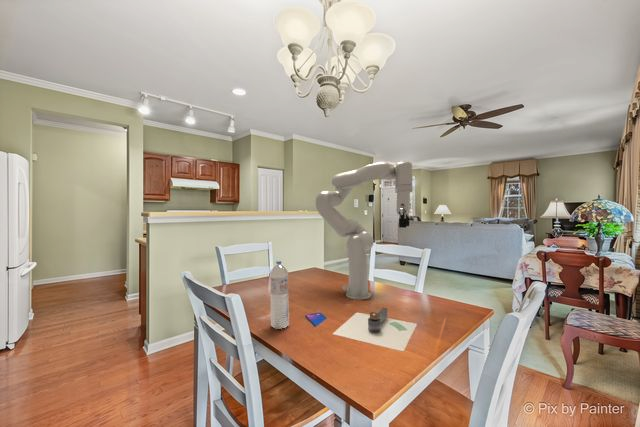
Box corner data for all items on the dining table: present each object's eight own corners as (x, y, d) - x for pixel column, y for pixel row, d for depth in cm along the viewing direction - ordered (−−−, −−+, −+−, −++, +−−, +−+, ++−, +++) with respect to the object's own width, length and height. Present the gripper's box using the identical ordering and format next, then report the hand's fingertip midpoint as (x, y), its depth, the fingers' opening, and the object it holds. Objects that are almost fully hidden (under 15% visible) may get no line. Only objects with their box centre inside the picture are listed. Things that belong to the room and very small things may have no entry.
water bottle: (274, 331, 98) (272, 263, 98) (268, 324, 104) (267, 260, 104) (291, 327, 102) (290, 261, 101) (285, 321, 108) (284, 258, 107)
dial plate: (332, 338, 93) (332, 333, 93) (356, 315, 112) (356, 311, 112) (403, 356, 81) (403, 350, 81) (417, 327, 100) (417, 323, 100)
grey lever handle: (378, 333, 91) (378, 317, 91) (366, 330, 94) (366, 314, 94) (390, 317, 105) (390, 303, 105) (379, 315, 107) (379, 301, 107)
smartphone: (318, 330, 99) (304, 314, 112) (318, 332, 99) (304, 317, 112) (336, 326, 101) (320, 312, 115) (336, 328, 101) (320, 314, 115)
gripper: (398, 190, 133) (398, 225, 133) (392, 188, 117) (392, 228, 117) (414, 190, 130) (414, 225, 130) (410, 187, 114) (410, 228, 114)
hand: (404, 226), depth 124 cm, fingers open, 9 cm apart
